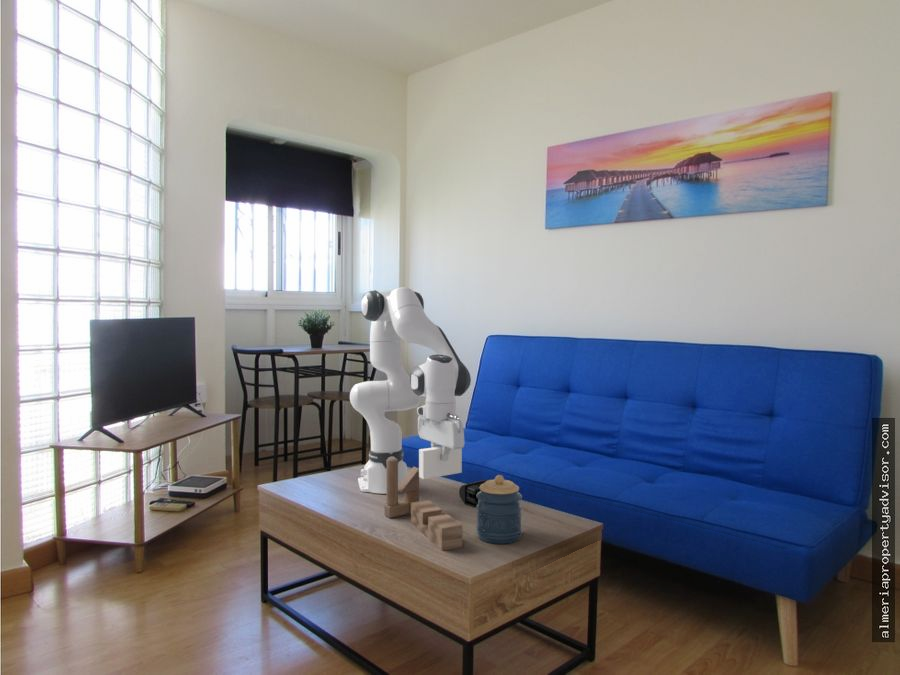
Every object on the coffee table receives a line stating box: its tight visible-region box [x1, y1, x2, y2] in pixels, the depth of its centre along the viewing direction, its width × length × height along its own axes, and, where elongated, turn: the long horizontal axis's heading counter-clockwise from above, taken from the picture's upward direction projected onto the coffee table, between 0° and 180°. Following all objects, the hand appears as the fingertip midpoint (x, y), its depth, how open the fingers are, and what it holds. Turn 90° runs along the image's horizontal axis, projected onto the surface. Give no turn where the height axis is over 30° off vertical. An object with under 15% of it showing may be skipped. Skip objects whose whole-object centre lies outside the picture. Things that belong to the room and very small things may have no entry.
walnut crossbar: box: [410, 499, 463, 551], centre depth 179 cm, size 24×6×6 cm, turn 24°
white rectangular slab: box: [418, 445, 463, 480], centre depth 179 cm, size 13×2×8 cm, turn 123°
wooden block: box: [384, 458, 420, 519], centre depth 195 cm, size 4×11×18 cm, turn 123°
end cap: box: [458, 479, 488, 509], centre depth 208 cm, size 10×7×7 cm
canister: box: [475, 474, 523, 545], centre depth 177 cm, size 13×13×18 cm
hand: (440, 459), depth 179 cm, fingers closed on white rectangular slab, 2 cm apart
